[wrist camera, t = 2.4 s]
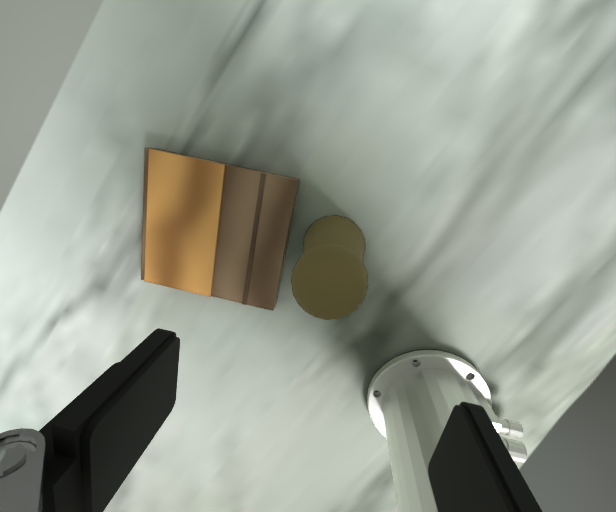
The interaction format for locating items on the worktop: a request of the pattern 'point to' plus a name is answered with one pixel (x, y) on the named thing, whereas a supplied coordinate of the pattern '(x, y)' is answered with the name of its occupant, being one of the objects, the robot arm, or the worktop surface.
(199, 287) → the board
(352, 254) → the cork
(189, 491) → the worktop surface
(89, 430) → the robot arm
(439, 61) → the worktop surface
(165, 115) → the worktop surface
